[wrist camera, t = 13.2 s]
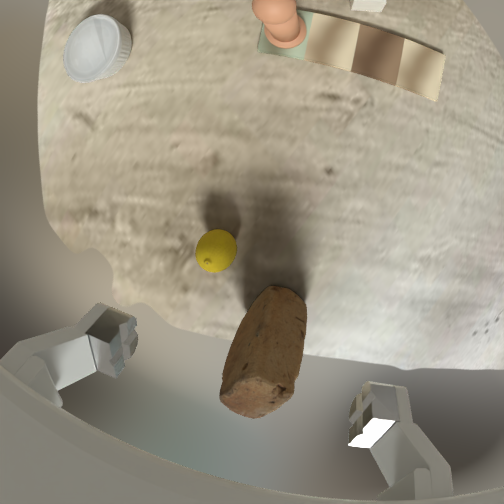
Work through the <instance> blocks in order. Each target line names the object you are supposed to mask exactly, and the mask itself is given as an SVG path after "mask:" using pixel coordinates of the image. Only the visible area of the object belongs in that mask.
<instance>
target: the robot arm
mask: <svg viewBox="0 0 504 504" xmlns="http://www.w3.org/2000/svg"><path fill="white" fill-rule="evenodd" d="M136 326H137V321H136V318H135V317H134V316H132V315H129V314H127V313H124V312H122V311H120V310H117V309H115V308H113V307H110V306H107V305H105V304H103V303H101V302H100V303H97V304H96V305H95V306H94V307H93V308H92V309H91V310H90V311H89V312H88V313H87V314H86V315H85V316H84V317H83V318H82V319H81V320H80V321H79V322H78V323H77V324H76V325H75V326H74V327H71V326H69V327H66V328H63V329H59V330H56V331H53V332H49V333H47V334H43V335H40V336H37V337H33V338H30V339H26V340H23V341H20V342H17V343H16V344H15V345H14V346H13V347H12V349H10V350H9V351H8V353H7V354H6V355H5V356H4V357H3V358H2V359H1V360H0V504H504V486H503V487H499V488H495V489H490V490H486V491H480V492H475V493H470V494H464V495H456V496H454V493H453V485H452V476H451V469H450V466H449V464H448V463H447V462H446V461H445V459H444V458H443V457H442V456H441V454H440V453H439V452H438V450H436V448H435V447H434V445H433V444H432V443H431V442H430V440H429V439H428V438H427V437H426V435H425V434H424V433H423V432H422V430H421V429H420V428H419V426H418V425H417V424H413V420H412V414H411V408H410V402H409V396H408V391H407V388H406V387H402V386H395V385H389V384H382V383H376V382H369V381H367V382H366V383H365V384H364V385H363V386H362V393H360V394H358V395H356V397H355V398H354V400H353V401H352V404H351V407H350V411H349V420H350V422H351V423H352V427H351V428H350V429H349V445H350V446H357V447H365V448H370V451H371V452H372V454H373V456H374V458H375V460H376V462H377V464H378V466H379V468H380V470H381V471H382V473H383V475H384V477H385V479H386V481H387V482H388V485H389V488H388V489H386V490H385V491H383V492H382V493H380V494H379V495H378V496H377V501H367V500H366V501H365V500H346V499H332V498H321V497H313V496H306V495H298V494H292V493H286V492H279V491H274V490H269V489H264V488H259V487H255V486H250V485H246V484H242V483H238V482H233V481H230V480H226V479H223V478H219V477H216V476H212V475H209V474H206V473H202V472H199V471H196V470H193V469H190V468H187V467H184V466H181V465H179V464H176V463H173V462H170V461H168V460H165V459H163V458H160V457H157V456H155V455H152V454H150V453H148V452H145V451H143V450H141V449H138V448H136V447H134V446H131V445H129V444H127V443H125V442H123V441H120V440H119V439H117V438H114V437H112V436H110V435H108V434H106V433H104V432H103V431H101V430H98V429H97V428H95V427H93V426H91V425H89V424H87V423H86V422H84V421H82V420H80V419H79V418H77V417H75V416H73V415H72V414H70V413H68V412H67V411H65V410H63V409H62V408H60V407H61V406H62V405H63V404H62V399H61V398H60V395H59V393H58V390H60V389H61V388H64V387H66V386H67V385H69V384H71V383H74V382H76V381H78V380H80V379H81V378H83V377H86V376H88V375H90V374H92V373H94V372H96V370H98V371H100V372H102V373H105V374H107V375H109V376H111V377H114V378H117V377H118V375H119V374H120V372H121V371H122V370H123V368H124V367H125V363H124V360H126V359H129V358H131V356H132V355H133V354H134V352H135V349H136V347H137V343H138V334H137V332H136V331H135V330H134V328H135V327H136Z"/></svg>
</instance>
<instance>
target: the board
mask: <svg viewBox="0 0 504 504" xmlns="http://www.w3.org/2000/svg"><path fill="white" fill-rule="evenodd" d="M296 12H297V15H298V16H299V17H301V18H302V19H303V21H304V23H305V25H306V30H307V33H306V37H305V39H304V41H303V42H302V43H301V44H300V45H298V46H296V47H294V48H290V49H283V48H279V47H276V46H274V45H273V44H272V43H270V41H269V40H268V39H267V37H266V35H265V32H264V26H265V25H264V23H263V27H262V31H261V36H260V41H259V45H258V50H257V51H258V52H261V53H267V54H274V55H280V56H285V57H291V58H296V59H301V60H306V61H310V62H315V63H319V64H323V65H328V66H332V67H336V68H339V69H343V70H347V71H350V72H354V73H357V74H361V75H364V76H367V77H371V78H374V79H377V80H380V81H383V82H386V83H389V84H392V85H394V86H397V87H400V88H403V89H405V90H408V91H411V92H413V93H416V94H418V95H421V96H423V97H426V98H428V99H431V100H433V101H437V100H438V95H439V90H440V85H441V80H442V74H443V69H444V63H445V56H446V55H444V54H441V53H439V52H437V51H435V50H432V49H430V48H428V47H425V46H423V45H420V44H418V43H415V42H413V41H410V40H408V39H405V38H402V37H400V36H397V35H394V34H391V33H388V32H385V31H382V30H379V29H376V28H373V27H369V26H366V25H363V24H359V23H356V22H352V21H348V20H344V19H340V18H336V17H332V16H327V15H323V14H318V13H313V12H308V11H302V10H296Z"/></svg>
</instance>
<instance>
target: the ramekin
mask: <svg viewBox="0 0 504 504" xmlns="http://www.w3.org/2000/svg"><path fill="white" fill-rule="evenodd" d="M131 45H132V40H131V35H130V33H129V31H128V30H127V28H126V27H125V26H124V25H122V24H121V23H119V22H118V21H117V20H116V19H115V18H113V17H111V16H109V15H105V14H96V15H93V16H90V17H88V18H86V19H85V20H83V21H82V22H81V23H79V24H78V25H77V26H76V28H75V29H74V30H73V31H72V33H71V35H70V36H69V38H68V40H67V43H66V46H65V49H64V55H63V61H64V67H65V70H66V72H67V74H68V76H69V77H70V78H71V79H73V80H74V81H77V82H81V83H89V82H93V81H96V80H99V79H104V78H107V77H110V76H112V75H113V74H115V73H116V72H118V71H119V70H120V69H121V68H122V66H123V65H124V64H125V62H126V61H127V59H128V57H129V54H130V51H131Z"/></svg>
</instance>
